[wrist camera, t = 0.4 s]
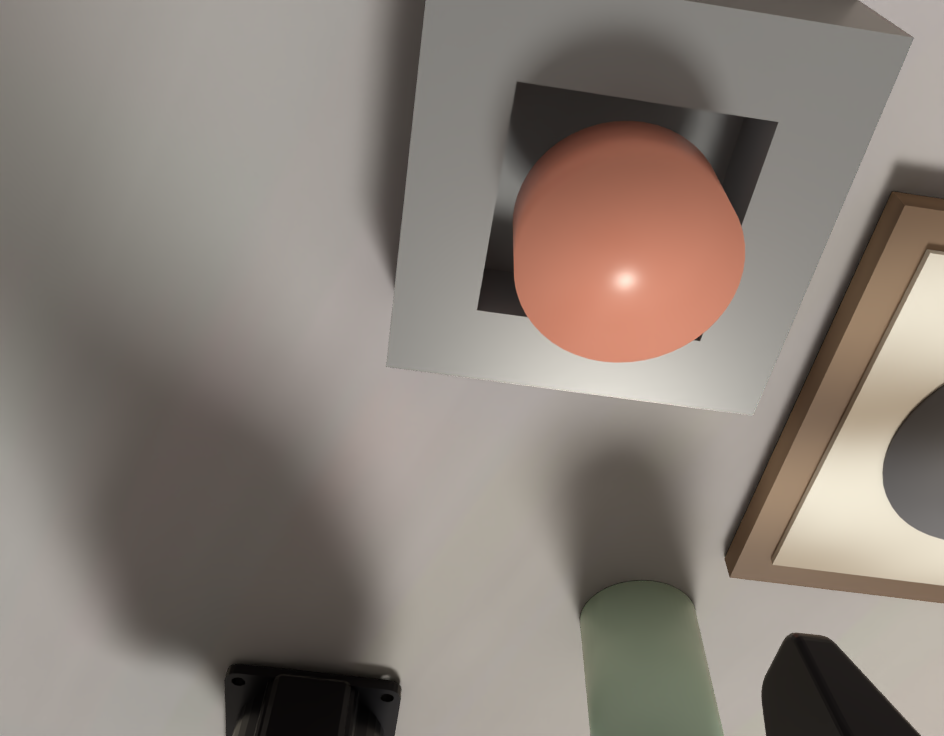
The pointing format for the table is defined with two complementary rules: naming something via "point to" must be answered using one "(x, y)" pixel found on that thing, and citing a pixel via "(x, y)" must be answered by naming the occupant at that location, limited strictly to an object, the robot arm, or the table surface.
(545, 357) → the button housing
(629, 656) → the canister
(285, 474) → the table surface
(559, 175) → the button
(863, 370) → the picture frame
